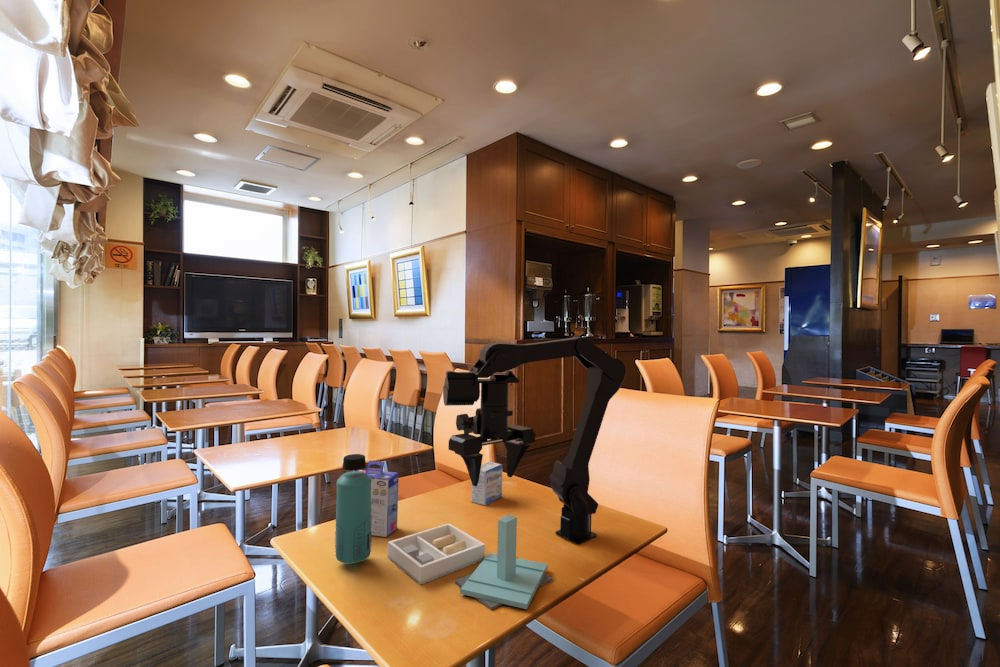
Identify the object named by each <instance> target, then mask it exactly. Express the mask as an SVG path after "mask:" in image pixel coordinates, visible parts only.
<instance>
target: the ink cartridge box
mask: <svg viewBox="0 0 1000 667" xmlns="http://www.w3.org/2000/svg"><path fill="white" fill-rule="evenodd" d="M373 465H377V466H379V468H377V467H371V466H373ZM384 466H385V461H379V460H378V461H377V460H376V461H375V460H369V461H368V463H367V465H366V469H360V470H357V471H362V472H365V473H367V474H368V475H369V476H370V477H371V479H372V482H371V519H372V520H371V521H372V522H371V524H372V525H371V531H372V532H371V535H372V536H376V537H383V538H384V537H385V538H386V537H388V536H389V535H390V534H392V533H393V532H394V531H395V530H397V529H398V513H399V512H398V511H399V510H398V509H399V505H398V504H399V472H393V471H383V469H384Z"/></svg>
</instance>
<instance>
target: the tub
mask: <svg viewBox="0 0 1000 667" xmlns="http://www.w3.org/2000/svg"><path fill="white" fill-rule="evenodd" d="M485 545H486V544H485V543H483V541H480V540H479V539H477V538H475V537H473V536H472V535H470V534H468V533H466V532H465V531H463V530H462V529H460V528H458V527H456V526H454V525H452V524H451V523H449V522H448V523H445V524H442V525H439V526H435V527H432V528H429V529H425V530H422V531H420V532H416V533H412V534H409V535H406V536H402V537H400V538H396V539H393V540H390V541H387V559H389V561H391V562H392V563H393V562H394V563H393V564H395V565H396V566H397V567H398V568H399V569H401V570H402V571H403V572H404V573H405V574H407V575H408V576H409V577H410V578H411V579H413V580H414V581H415V582H416V583H417V582H418V584H419V586H421V584H422V585H424V584H426V582H427V583H430V582H432V581H434V580H436V579H439V578H441V577H444V576H447V575H449V574H452V573H455V572H457V571H460V570H461V569H464V567H465V568H468V567H470V566H472V565H471V564H473V565H475V564H478V563H479V562H482V561H483V560H484V559H485V557H486V556H485V554H486V553H485V552H486V551H485V548H486V546H485ZM477 562H478V563H477ZM474 563H475V564H474ZM469 565H470V566H469ZM467 566H468V567H467ZM454 571H455V572H454Z"/></svg>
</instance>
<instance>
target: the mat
mask: <svg viewBox="0 0 1000 667" xmlns="http://www.w3.org/2000/svg"><path fill="white" fill-rule="evenodd" d="M516 558H518V557H517V556H516ZM472 574H473V572H472V573H470V574H466V575H464V576H462V577H460V578H457V579H455V580H454V584H456V585H457V586H459V587H460V588H461V587H462V586H463V585H464V584H465V582H466V581H467V580H468V578H469V577H470V576H471V575H472ZM552 581H554V580H553V576H550V575H549V574H547V573H545V574H544V576H543V578H542V580H541V582H540V584H539V586H538V588H539V587H542V586H543V585H546V584H547V583H550V582H552ZM474 598H475V599H476V600H477V601H478V602H480V603H481V604H482V605H484V606H485V607H487V608H488V609H489V610H491V611H492V610H495V609H497V608H499V607H500V606H502V605H504V604H502V603H497V602H493V601H489V600H485V599H480V598H476V597H474Z"/></svg>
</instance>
